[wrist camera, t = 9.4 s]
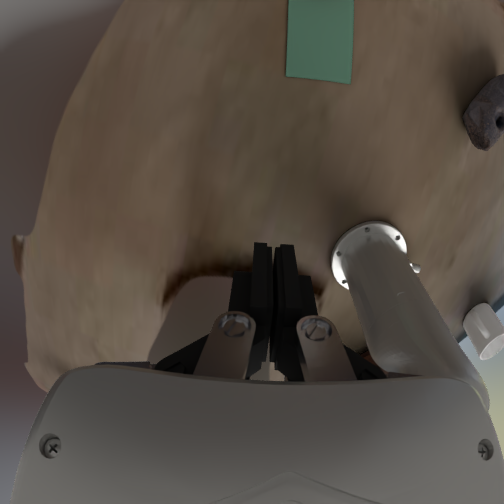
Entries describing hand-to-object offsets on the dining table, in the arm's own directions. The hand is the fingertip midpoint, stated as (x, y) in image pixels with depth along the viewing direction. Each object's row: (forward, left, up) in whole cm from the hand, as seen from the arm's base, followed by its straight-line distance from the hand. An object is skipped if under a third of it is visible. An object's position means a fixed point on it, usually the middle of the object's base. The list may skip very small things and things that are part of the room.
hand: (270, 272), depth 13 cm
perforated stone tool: (-30, -17, -27) cm, 44 cm away
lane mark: (-2, -25, -27) cm, 36 cm away
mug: (-54, +21, -27) cm, 63 cm away
